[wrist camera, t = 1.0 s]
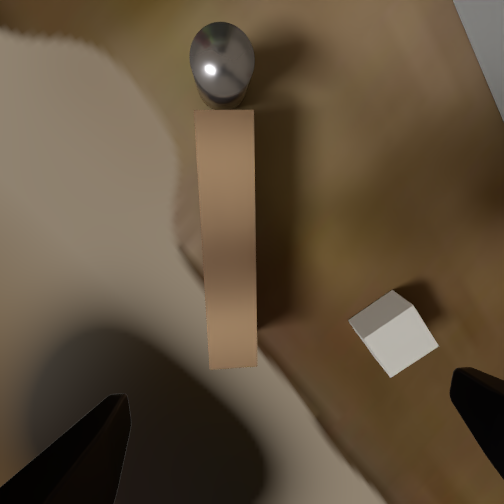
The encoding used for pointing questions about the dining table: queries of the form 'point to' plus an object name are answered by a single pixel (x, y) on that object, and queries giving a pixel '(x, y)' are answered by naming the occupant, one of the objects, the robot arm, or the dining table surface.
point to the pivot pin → (222, 65)
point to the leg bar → (228, 234)
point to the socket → (486, 40)
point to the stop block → (393, 332)
